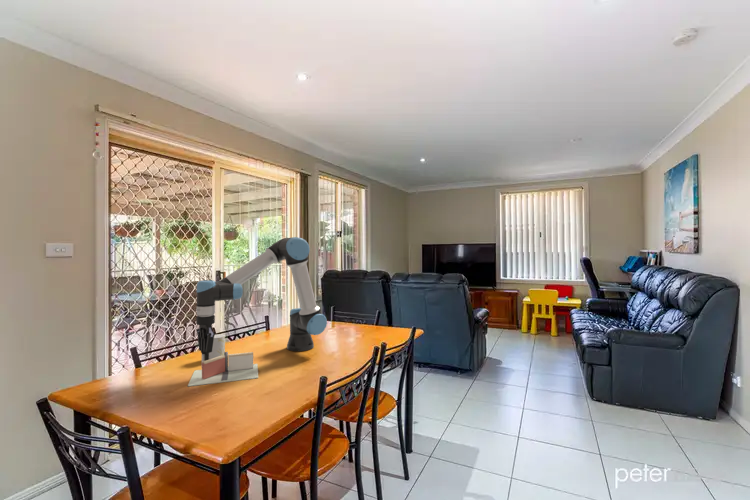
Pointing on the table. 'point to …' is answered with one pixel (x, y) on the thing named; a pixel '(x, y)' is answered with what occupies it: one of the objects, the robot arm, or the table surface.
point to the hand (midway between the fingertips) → (205, 367)
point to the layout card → (224, 376)
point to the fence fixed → (238, 361)
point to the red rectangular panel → (213, 366)
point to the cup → (218, 346)
